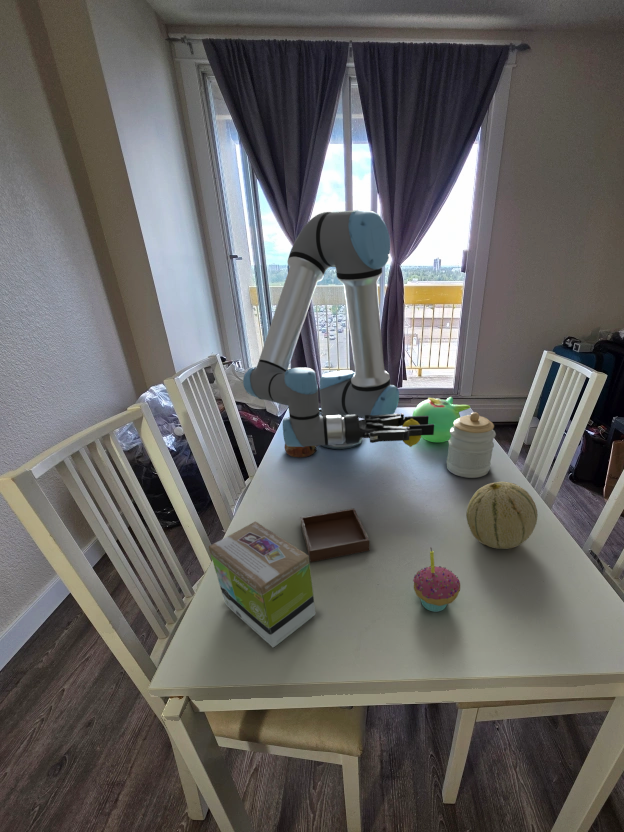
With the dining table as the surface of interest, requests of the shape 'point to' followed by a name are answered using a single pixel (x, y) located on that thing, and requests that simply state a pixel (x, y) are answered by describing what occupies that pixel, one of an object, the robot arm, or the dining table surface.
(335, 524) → the tray
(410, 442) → the lemon
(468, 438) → the jar
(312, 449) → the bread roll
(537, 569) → the dining table surface
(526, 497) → the cantaloupe
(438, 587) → the cupcake
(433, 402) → the toy bird
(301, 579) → the tea box
